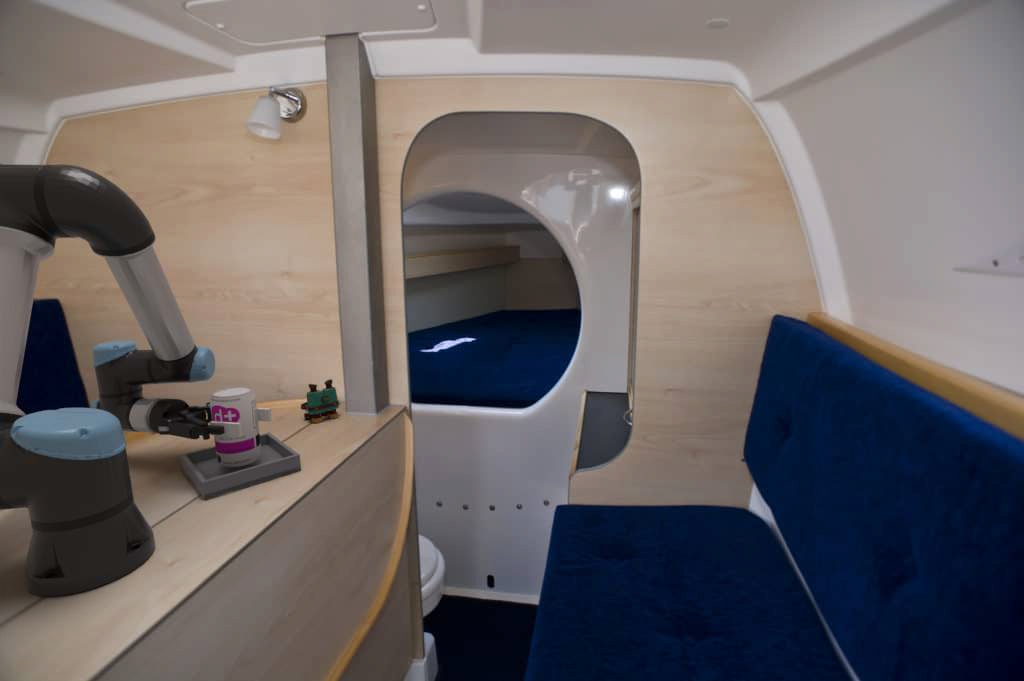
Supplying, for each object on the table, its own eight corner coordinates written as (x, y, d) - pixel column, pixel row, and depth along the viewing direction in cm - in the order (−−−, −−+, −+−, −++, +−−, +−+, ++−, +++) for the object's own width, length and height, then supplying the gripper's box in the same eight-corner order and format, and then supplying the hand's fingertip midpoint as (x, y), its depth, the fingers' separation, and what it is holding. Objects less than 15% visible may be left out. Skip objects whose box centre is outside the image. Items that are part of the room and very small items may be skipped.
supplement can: (243, 470, 103) (235, 398, 100) (208, 466, 105) (199, 396, 102) (270, 453, 111) (263, 387, 108) (236, 451, 112) (229, 385, 110)
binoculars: (322, 376, 146) (340, 379, 139) (327, 412, 147) (344, 416, 140) (291, 382, 139) (308, 385, 133) (296, 420, 141) (313, 425, 134)
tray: (204, 500, 96) (202, 482, 95) (182, 470, 108) (180, 454, 108) (301, 470, 108) (299, 454, 107) (270, 446, 121) (269, 432, 120)
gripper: (202, 416, 120) (289, 422, 116) (118, 451, 100) (219, 460, 96) (198, 385, 119) (286, 390, 115) (112, 415, 99) (215, 422, 94)
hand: (255, 422), depth 105 cm, fingers open, 8 cm apart
